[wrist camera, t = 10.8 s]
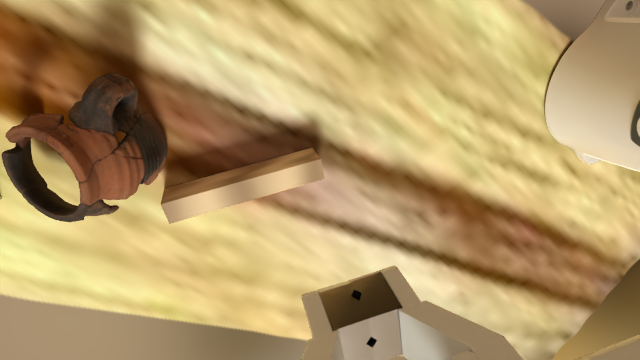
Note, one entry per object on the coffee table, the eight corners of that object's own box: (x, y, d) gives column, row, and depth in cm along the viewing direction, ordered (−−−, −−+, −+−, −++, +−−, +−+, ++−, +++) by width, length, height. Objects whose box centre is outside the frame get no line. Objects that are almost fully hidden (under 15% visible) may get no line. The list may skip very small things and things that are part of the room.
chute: (259, -109, 27) (265, -120, 24) (316, 165, 37) (324, 178, 34) (50, -74, 25) (32, -83, 22) (172, 206, 35) (169, 223, 32)
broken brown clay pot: (162, 200, 35) (93, 254, 28) (75, 147, 35) (-16, 188, 28) (198, 89, 29) (121, 123, 22) (93, 25, 29) (-19, 38, 22)
